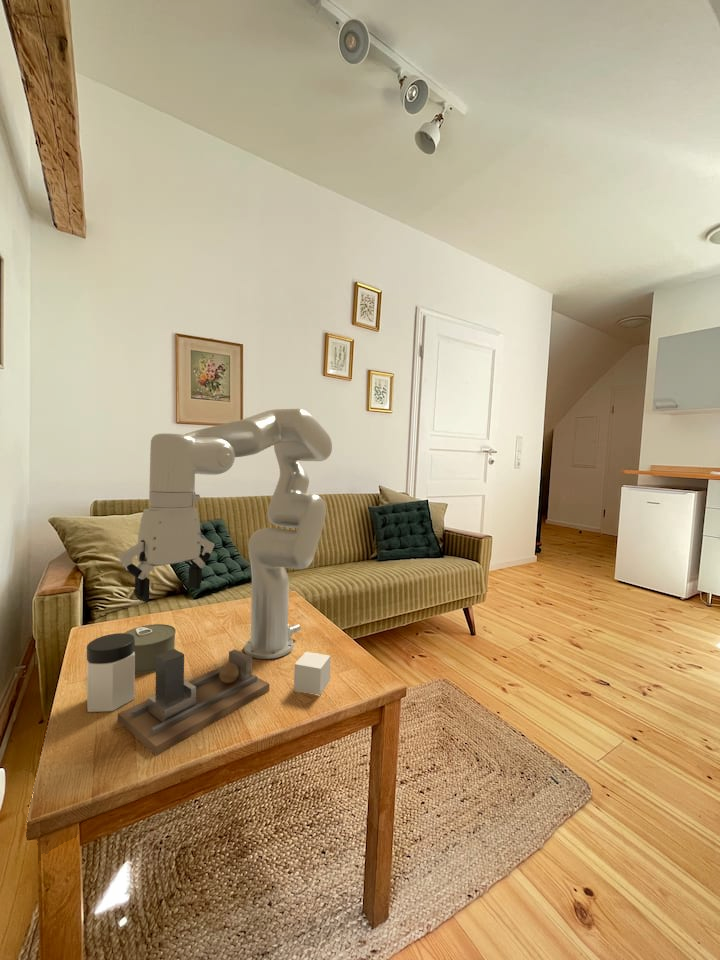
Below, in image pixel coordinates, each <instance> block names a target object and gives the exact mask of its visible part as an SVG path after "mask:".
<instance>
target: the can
mask: <svg viewBox="0 0 720 960" xmlns="http://www.w3.org/2000/svg"><path fill="white" fill-rule="evenodd" d="M176 632H177V630H176V628H175V627H174V626H172V625H169V624H160V623H159V624H158V623H157V624H156V623H155V624H147V625H142V626H137V627H135V628H131V629H129V630H127V631H125V632H124V633H126V634H131V635H133V636H134V638H135V650H134V653H135V676H136V675H146V674H149V673H154V672H155V673H156V656H157V655H159V654H162V653H165V652H167V651H170V650H173V649H175V644H176V643H175V642H176V640H175V638H176V634H177V633H176Z"/></svg>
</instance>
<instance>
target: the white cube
mask: <svg viewBox="0 0 720 960" xmlns="http://www.w3.org/2000/svg"><path fill="white" fill-rule="evenodd" d="M331 657H332V656H331V655H328V654H322V653H316V652H311V651H310V652H309V651H305V652H304V653H303V654H302V655H301V657H299V659H297V660H296V662H295V663H294V673H293V674H294V675H293V691H294V692H295V691H299V692H298V693H301V692H305V693H304V694H306V693H313V694H318V695H320V694H321V693H322V691H323V689H324V688H325V687H326V685H327V684H328V682H329V681H330V682H331ZM330 682H329V683H330ZM328 685H329V684H328ZM328 685H327V686H328ZM326 688H327V687H326ZM326 688H325V689H326ZM323 692H324V691H323ZM322 694H323V693H322ZM322 694H321V695H322Z"/></svg>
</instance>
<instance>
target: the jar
mask: <svg viewBox="0 0 720 960" xmlns="http://www.w3.org/2000/svg"><path fill="white" fill-rule="evenodd" d="M134 650H135V638H134V636H133V635H131V634H126V633H125V632H123V633H122V632H120V633H118V632H117V633H112V634H106V635H102V636H99V637H96V638H95V639H93V640H91V641H90V642H89V643H88V644H87V645H86V665H87V666H86V705H87V706H86V707H87V708H86V709H87V713H97V712H98V713H100V712H102V713H103V712H105V713H106V712H114V711H115V710H117V709H119V708H121V707H122V706H124V705H126V704H128V703H129V702H131V701H133V700H135V697H136V696H135V688H136V687H135V685H136V684H135V683H136V680H135V677H136V675H135V653H134Z"/></svg>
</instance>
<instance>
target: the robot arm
mask: <svg viewBox="0 0 720 960" xmlns="http://www.w3.org/2000/svg"><path fill="white" fill-rule="evenodd" d="M272 446H273V448H274V449H273V451H274V453H275V457H276V460H277V463H278V464H277V465H278V468H279V478H278V481H277V484H276V487H275V489H274V492H273V494H272V497H271V499H270V503H269V505H268V508H267V515H266V516H267V519H268V522H269V523H271V524H272V525H274V526H277V528H276V527H275V528H274V527H263V528H260V529H257V530H256V531H253V533H252V534H251V535H250V537H249V540H248V545H247V547H248V549H247V550H248V552H247V553H248V556H249V561H250V562H249V563H250V570H251V571H250V572H251V595H250V596H251V600H250V601H251V604H250V606H251V607H250V608H251V609H250V639H248V640H247V641H246V642H245V644H244V649H243V650H244V651H243V652H244V654H246V655H248V656H250V657H252V659H253V658H254V659H261V660H270V659H271V660H272V659H277V658H281V657H283V656H286V655H287V654H289V653H290V652H291V651H292V650H293V649H294V640H293V639H292V638H291V636H293V634H295V633H297V632H300V630H301V625H300V624H298V623H296V624H295V625H292V626H291V625H290V624H289V594H290V592H289V590H290V580H289V575H288V573H287V571H286V568H287V569H293V570H294V569H295V570H304V569H306V568H308V567H310V565H311V564H312V562H313V560H314V558H315V555H316V552H317V549H318V545H319V542H320V539H321V535H322V531H323V528H324V525H325V521H326V516H327V509H326V508H327V507H326V503H325V501H324V499H323V498H322V497H321V496H320V495H318V494H314V493H307V492H308V489H309V484H310V480H309V479H310V478H309V476H308V473H307V471H306V470H305V468H304V466H303V465H302V462H323V461H325V460H327V459H328V458H329V457H330V456H331V453H332V451H333V444H332V439H331V437H330V435H329V433H328V432H327V431H326V430H325V428H324V427H323V426H322V425H321V424H320V423H319V421H318V420H317V419H316V418H315V417H314V416H313V415H312V414H311V413H309V412H308V411H307V410H305V409H303V408H280V409H279V408H278V409H276V408H275V409H270V410H269V409H268V410H266V411H262V412H259V413H257V414H255V415H254V414H253V415H252V416H249V417H246V418H243V419H239V420H235V421H230V422H226V423H222V424H218V425H214V426H210V427H205V428H200V429H197V430H194V431H191V432H187V433H184V434H182V433H181V434H180V433H163V432H162V433H157V434H154V435H153V436H152V438H151V440H150V455H149V456H150V457H149V459H150V461H149V489H148V490H149V493H148V498H149V499H148V500H149V501H148V508H144V509H143V512H142V515H141V519H140V524H139V529H138V536H137V544H135V545H133V546H132V547H130V548H128V549H127V550H125V551H124V552H122V553H120V554H119V555H118V560H119V561H120V562H121V564H122V566H123V568H124V570H125V571H126V572H128V573H129V574H130V575H132V577H134V596H135V597H136V598H137V600H139V601H141V602H143V603H146V602H148V601H149V600H150V583H151V581H150V578H148V577H147V576H148V575H149V574H150V573H151V572H152V570H153V569H154V567H159V566H160V567H161V566H166V565H167V566H168V565H173V564H178V563H184V562H189V563H190V566H188V580H187V581H188V587H189V588H191V589H193V590H194V589H195V590H200V589H201V586H202V585H201V583H202V578H203V576H202V575H203V574H202V573H203V569H204V567H205V566H206V563H207V561H208V560H209V559H210V558H211V554H212V552H213V549H214V548H215V543H214V542H212V541H210V540H208V539H206V538H203V537H202V535H201V522H200V517H199V516H200V515H199V511H198V508H197V507H195V505H196V502H200V500H201V496H200V494H198V493H197V494H196V491H195V486H196V485H195V483H196V475H207V476H208V475H209V476H211V475H212V476H215V475H216V476H217V475H221V474H224V473H226V472H228V471H229V470H230V469H231V468H232V467H233V465H234V463H235V460H236V459H235V458H243V457H249V456H253V455H255V454H259V453H260V452H263V451H265V450H266V449H268V448H271V447H272ZM278 527H282V528H278ZM285 528H291V529H285ZM293 529H294V530H293ZM295 529H297V530H295ZM202 546H203V549H201V547H202ZM201 551H202V552H201ZM135 557H136V561H138V564H137V565H135V564H134V562H133V558H135Z"/></svg>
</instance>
